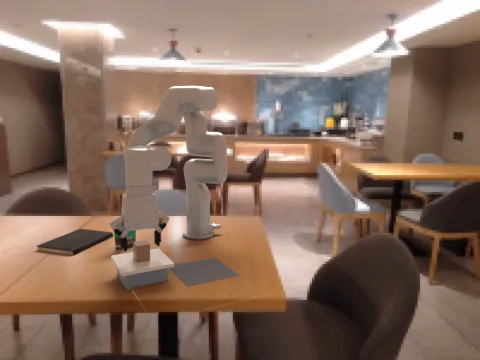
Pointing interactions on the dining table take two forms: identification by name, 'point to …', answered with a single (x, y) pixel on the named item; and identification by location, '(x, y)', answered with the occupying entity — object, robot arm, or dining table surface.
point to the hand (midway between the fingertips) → (141, 247)
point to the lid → (141, 260)
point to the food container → (130, 237)
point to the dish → (143, 278)
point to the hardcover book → (75, 241)
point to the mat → (202, 271)
